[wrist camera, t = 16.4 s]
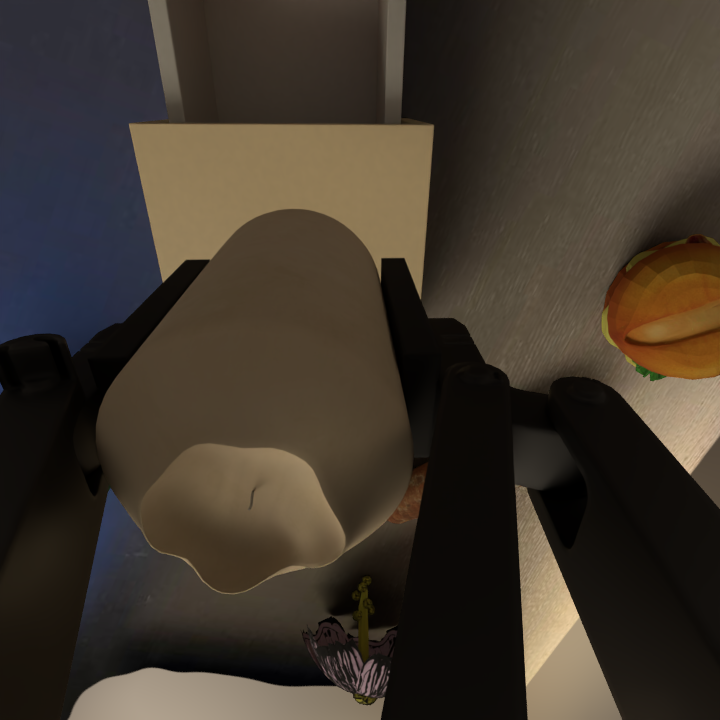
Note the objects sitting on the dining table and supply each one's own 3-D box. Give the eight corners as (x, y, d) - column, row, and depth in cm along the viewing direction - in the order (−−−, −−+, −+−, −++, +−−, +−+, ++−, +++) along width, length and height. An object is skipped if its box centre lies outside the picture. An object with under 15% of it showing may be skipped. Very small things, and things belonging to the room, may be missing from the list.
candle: (405, 241, 15) (494, 444, 6) (348, 378, 17) (354, 660, 9) (236, 179, 14) (52, 319, 5) (201, 335, 16) (39, 607, 8)
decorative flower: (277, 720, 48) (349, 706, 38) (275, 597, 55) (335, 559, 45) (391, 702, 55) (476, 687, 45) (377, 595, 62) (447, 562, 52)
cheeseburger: (660, 373, 40) (720, 436, 31) (555, 310, 39) (584, 355, 30) (759, 273, 35) (863, 312, 26) (642, 201, 35) (706, 216, 26)
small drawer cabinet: (191, 116, 29) (128, 123, 21) (408, 117, 30) (434, 124, 21) (225, 339, 37) (190, 411, 28) (397, 337, 37) (413, 407, 29)
